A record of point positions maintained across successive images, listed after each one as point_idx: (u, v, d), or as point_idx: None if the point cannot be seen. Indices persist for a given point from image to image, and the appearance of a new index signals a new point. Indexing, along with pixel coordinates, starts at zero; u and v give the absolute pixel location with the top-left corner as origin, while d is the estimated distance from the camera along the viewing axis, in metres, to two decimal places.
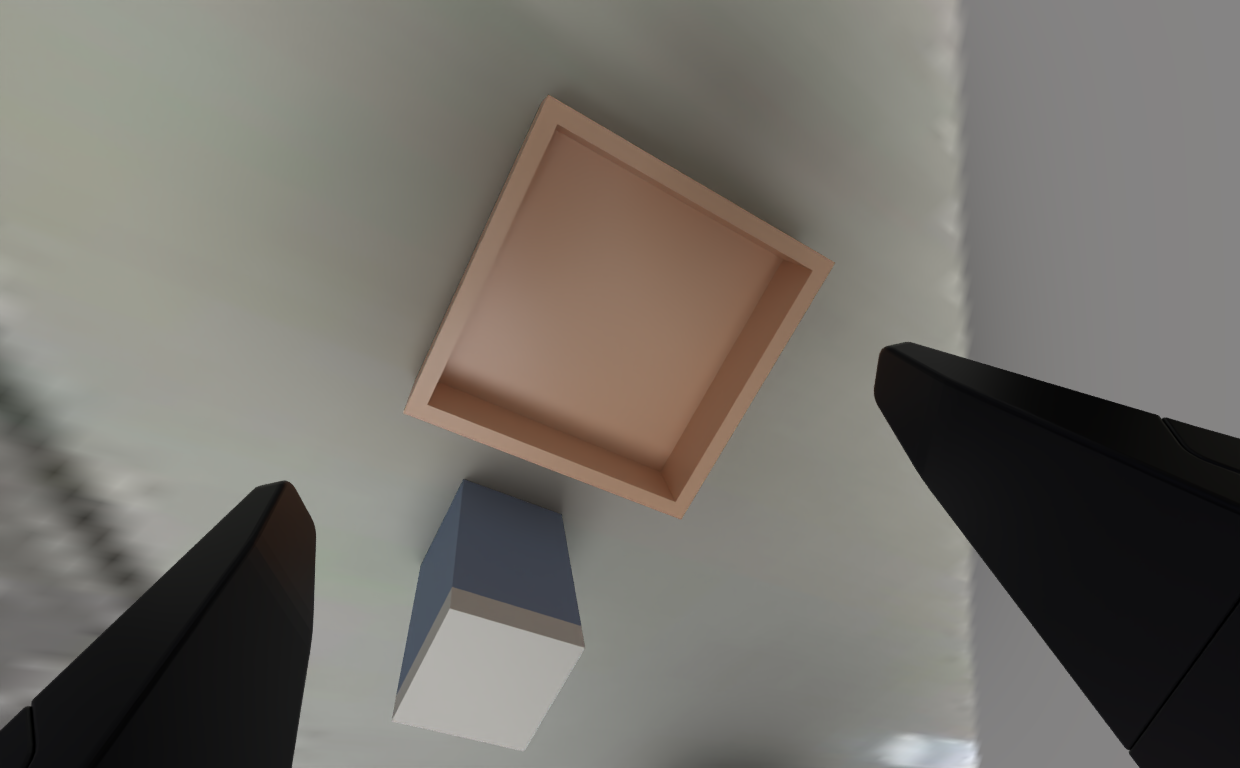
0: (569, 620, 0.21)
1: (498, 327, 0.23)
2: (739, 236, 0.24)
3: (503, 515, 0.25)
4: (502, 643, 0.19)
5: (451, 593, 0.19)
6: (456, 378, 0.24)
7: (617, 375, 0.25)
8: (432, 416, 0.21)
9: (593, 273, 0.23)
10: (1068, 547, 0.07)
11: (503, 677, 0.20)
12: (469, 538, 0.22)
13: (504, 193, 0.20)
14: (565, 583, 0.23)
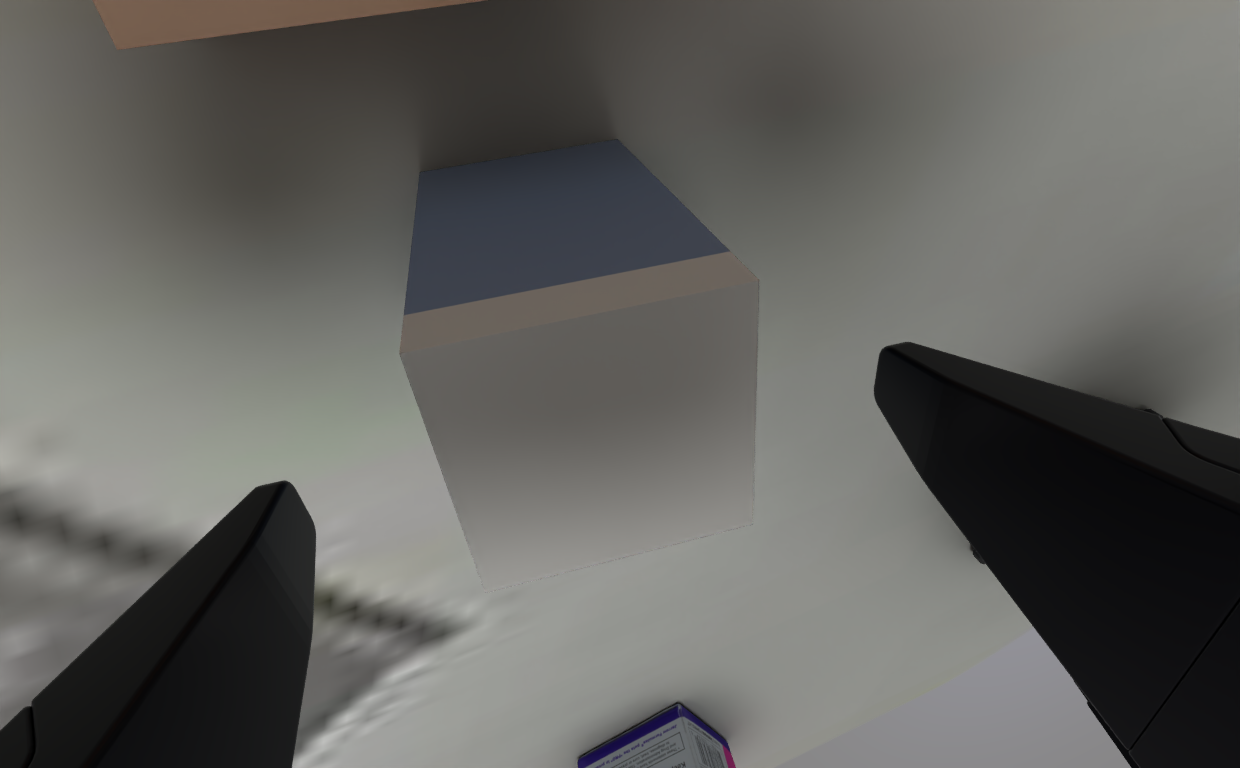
0: (698, 254, 0.09)
1: None
2: None
3: (505, 179, 0.13)
4: (573, 366, 0.08)
5: (404, 326, 0.08)
6: None
7: None
8: (174, 19, 0.09)
9: None
10: (1068, 547, 0.07)
11: (625, 428, 0.09)
12: (438, 232, 0.11)
13: None
14: (662, 209, 0.10)
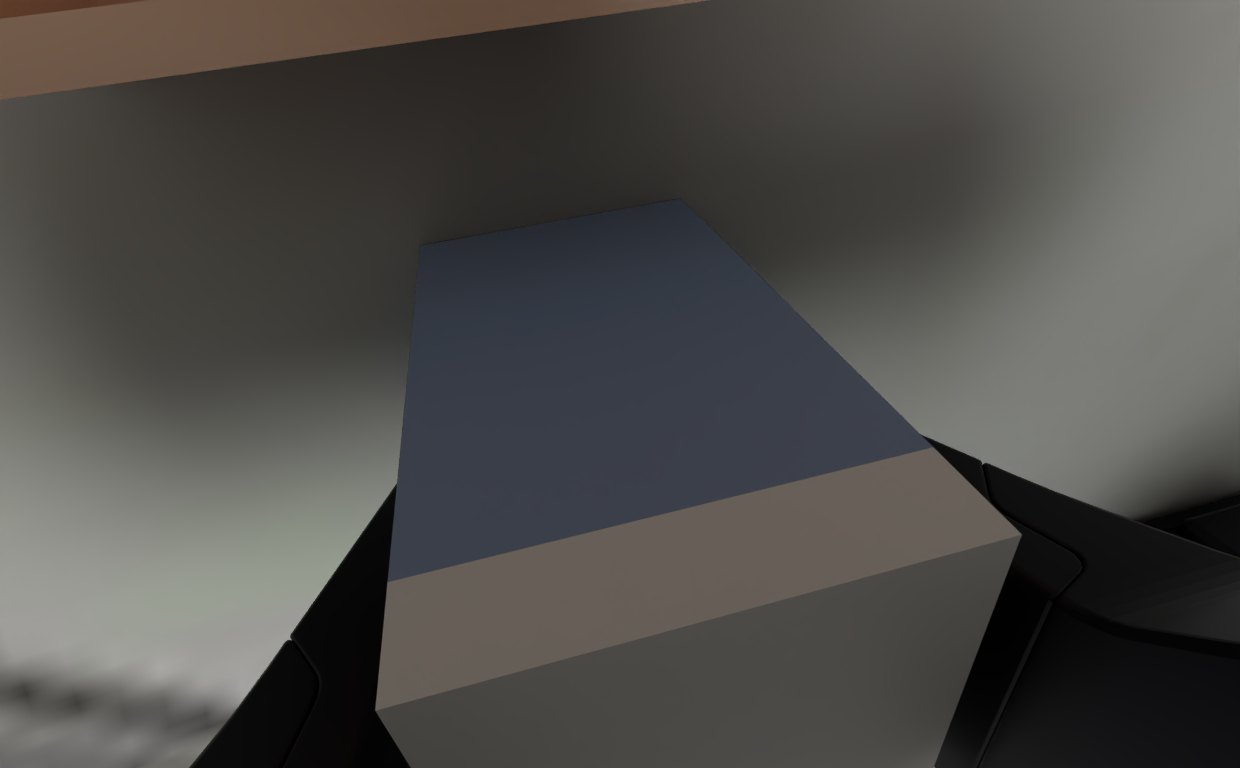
0: (879, 451, 0.05)
1: None
2: None
3: (538, 265, 0.09)
4: (689, 682, 0.05)
5: (388, 613, 0.05)
6: None
7: None
8: (22, 61, 0.06)
9: None
10: None
11: (757, 742, 0.05)
12: (446, 368, 0.07)
13: None
14: (783, 336, 0.07)
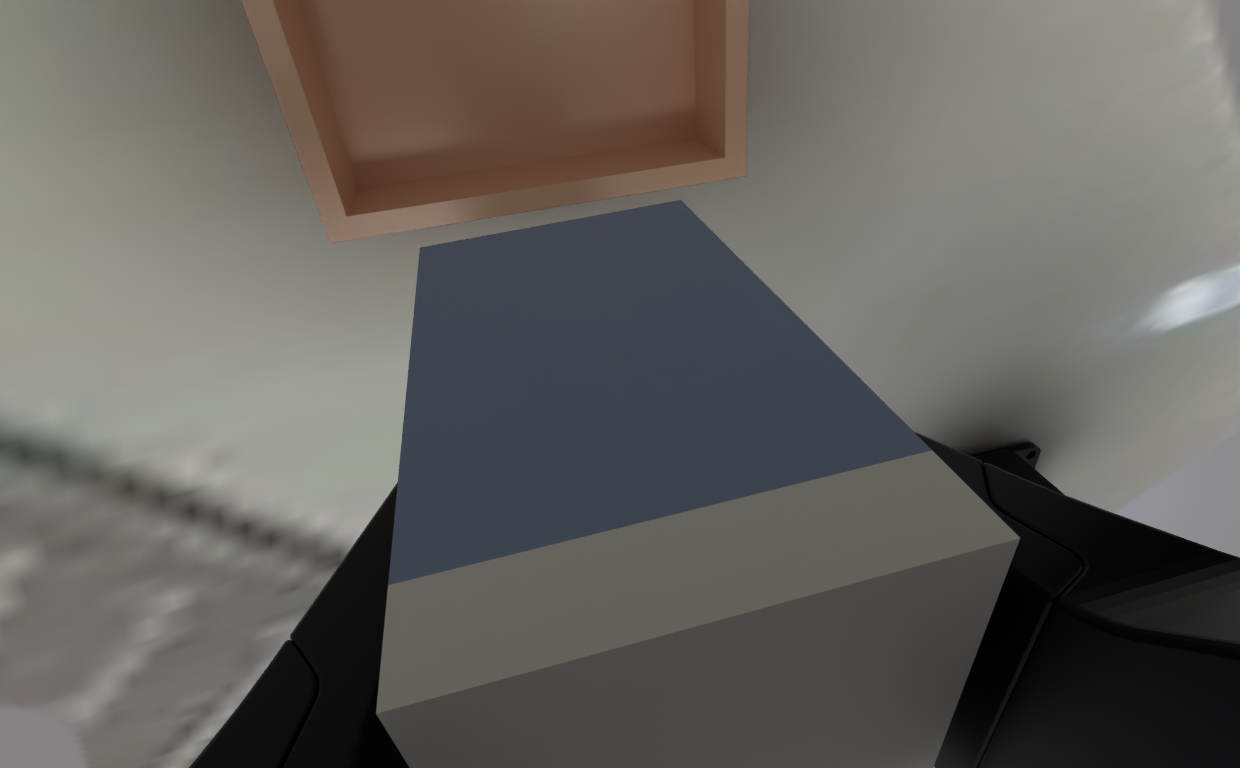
0: (878, 454, 0.05)
1: (374, 71, 0.16)
2: None
3: (538, 268, 0.09)
4: (687, 685, 0.05)
5: (389, 617, 0.05)
6: (380, 170, 0.18)
7: (561, 39, 0.17)
8: (363, 227, 0.16)
9: None
10: None
11: (758, 745, 0.05)
12: (446, 371, 0.07)
13: None
14: (783, 338, 0.07)
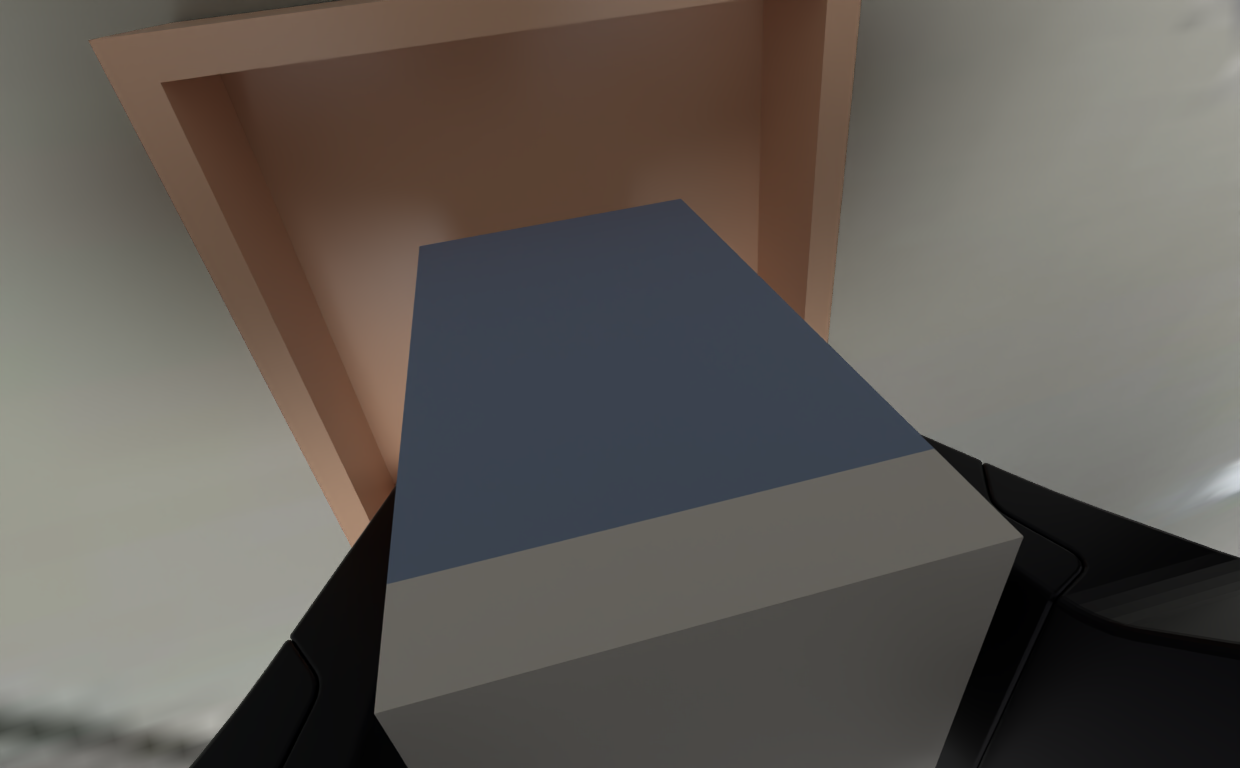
0: (880, 452, 0.05)
1: None
2: None
3: (537, 266, 0.09)
4: (688, 686, 0.05)
5: (387, 616, 0.05)
6: None
7: None
8: None
9: (475, 233, 0.13)
10: None
11: (759, 744, 0.05)
12: (446, 369, 0.07)
13: (206, 260, 0.10)
14: (783, 337, 0.07)
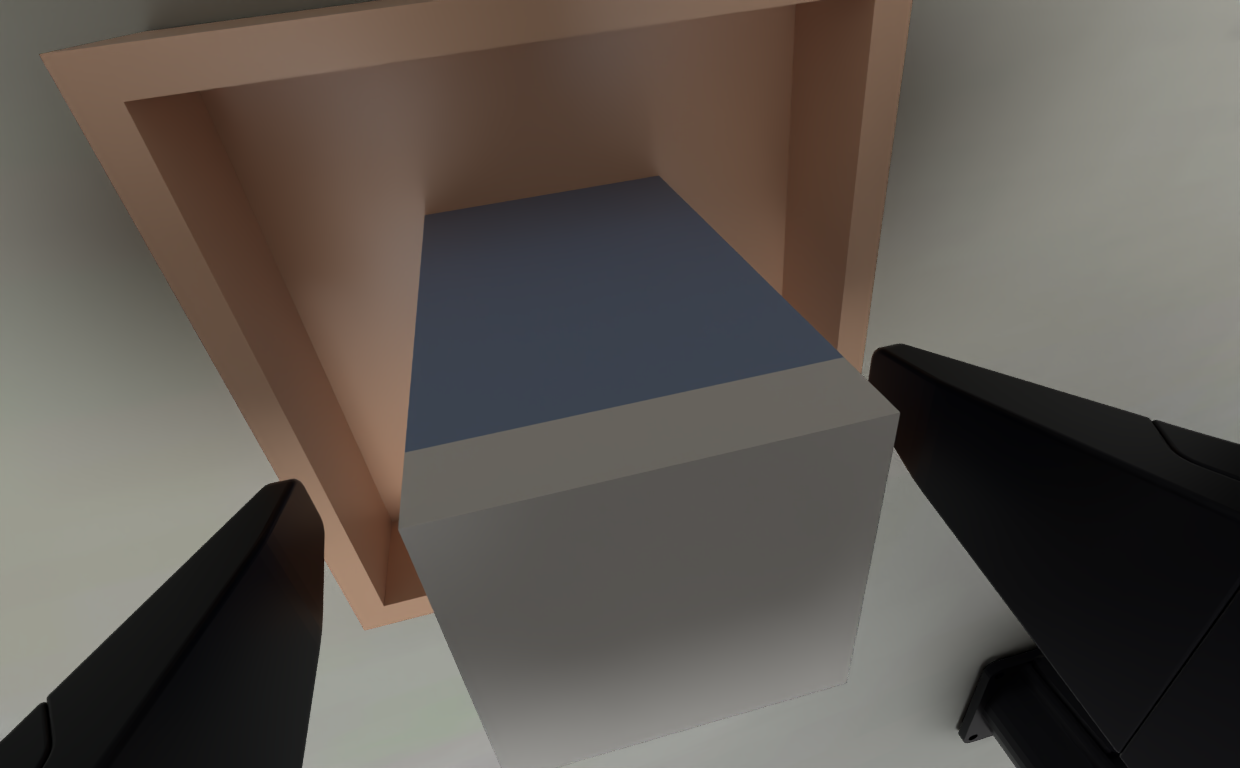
0: (801, 360, 0.07)
1: None
2: None
3: (529, 230, 0.10)
4: (640, 529, 0.06)
5: (406, 473, 0.06)
6: None
7: None
8: (403, 612, 0.14)
9: None
10: (1059, 550, 0.07)
11: (701, 593, 0.07)
12: (449, 308, 0.08)
13: (180, 297, 0.09)
14: (735, 281, 0.08)
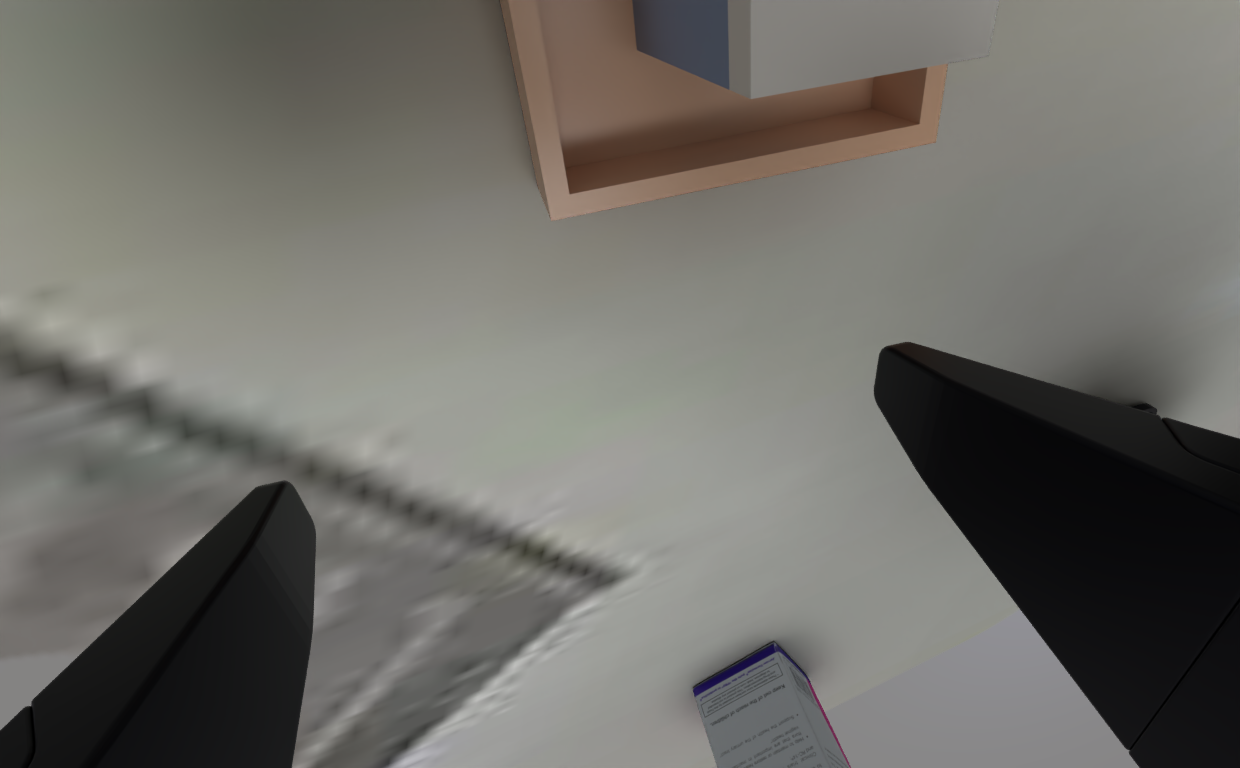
0: None
1: (584, 53, 0.17)
2: None
3: None
4: None
5: None
6: (577, 151, 0.18)
7: None
8: (583, 204, 0.17)
9: None
10: (1068, 547, 0.07)
11: None
12: None
13: None
14: None
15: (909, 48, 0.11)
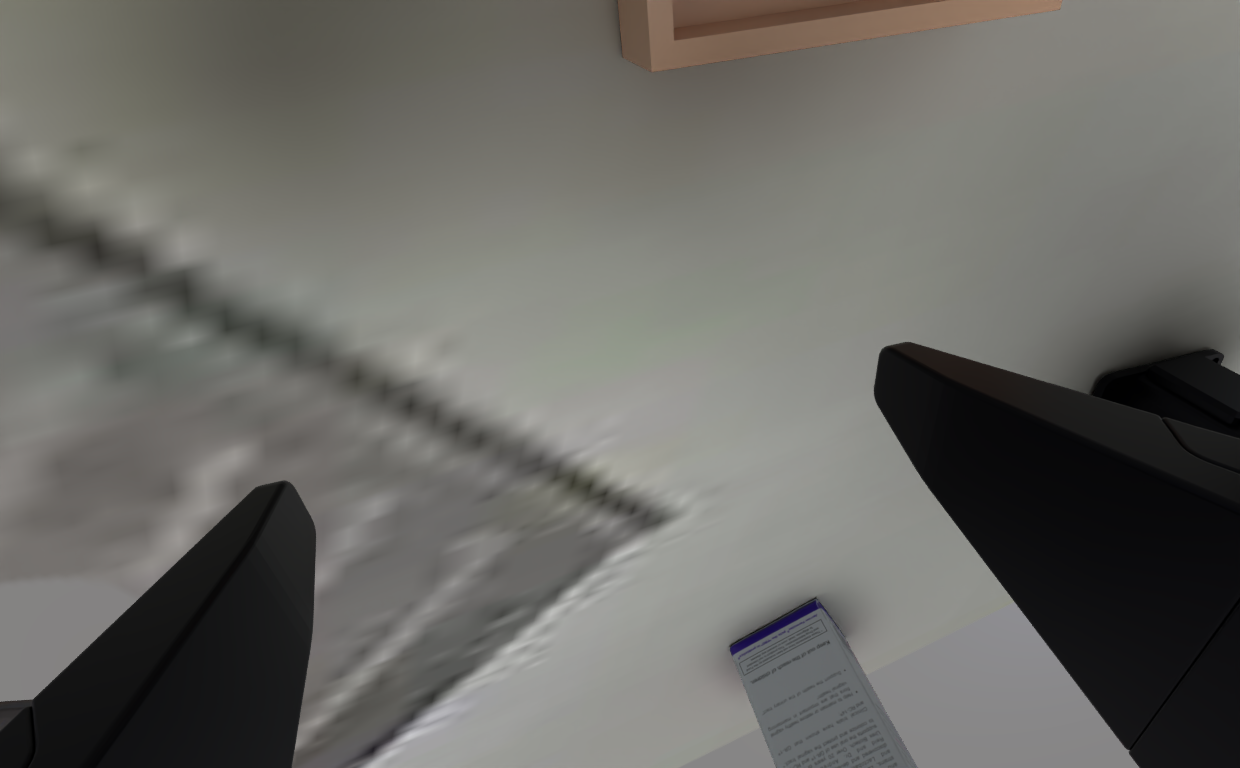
0: None
1: None
2: None
3: None
4: None
5: None
6: None
7: None
8: (687, 54, 0.15)
9: None
10: (1068, 547, 0.07)
11: None
12: None
13: None
14: None
15: None
